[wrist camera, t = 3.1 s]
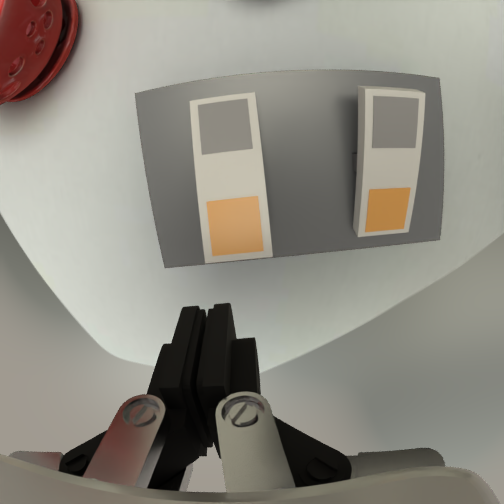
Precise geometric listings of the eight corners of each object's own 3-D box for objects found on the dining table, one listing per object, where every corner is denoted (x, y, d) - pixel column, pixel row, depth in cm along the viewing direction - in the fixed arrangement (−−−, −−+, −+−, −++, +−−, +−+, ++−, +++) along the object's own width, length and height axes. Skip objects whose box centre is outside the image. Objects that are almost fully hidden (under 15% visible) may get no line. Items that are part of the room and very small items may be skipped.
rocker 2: (415, 89, 16) (426, 93, 15) (401, 223, 22) (408, 232, 21) (357, 85, 16) (365, 89, 15) (352, 227, 22) (358, 237, 21)
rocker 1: (255, 98, 18) (254, 91, 17) (272, 253, 20) (272, 257, 18) (193, 106, 19) (189, 100, 17) (208, 260, 20) (204, 263, 19)
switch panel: (420, 81, 20) (446, 76, 17) (423, 228, 25) (446, 244, 21) (148, 96, 21) (129, 92, 17) (173, 252, 26) (161, 274, 22)
